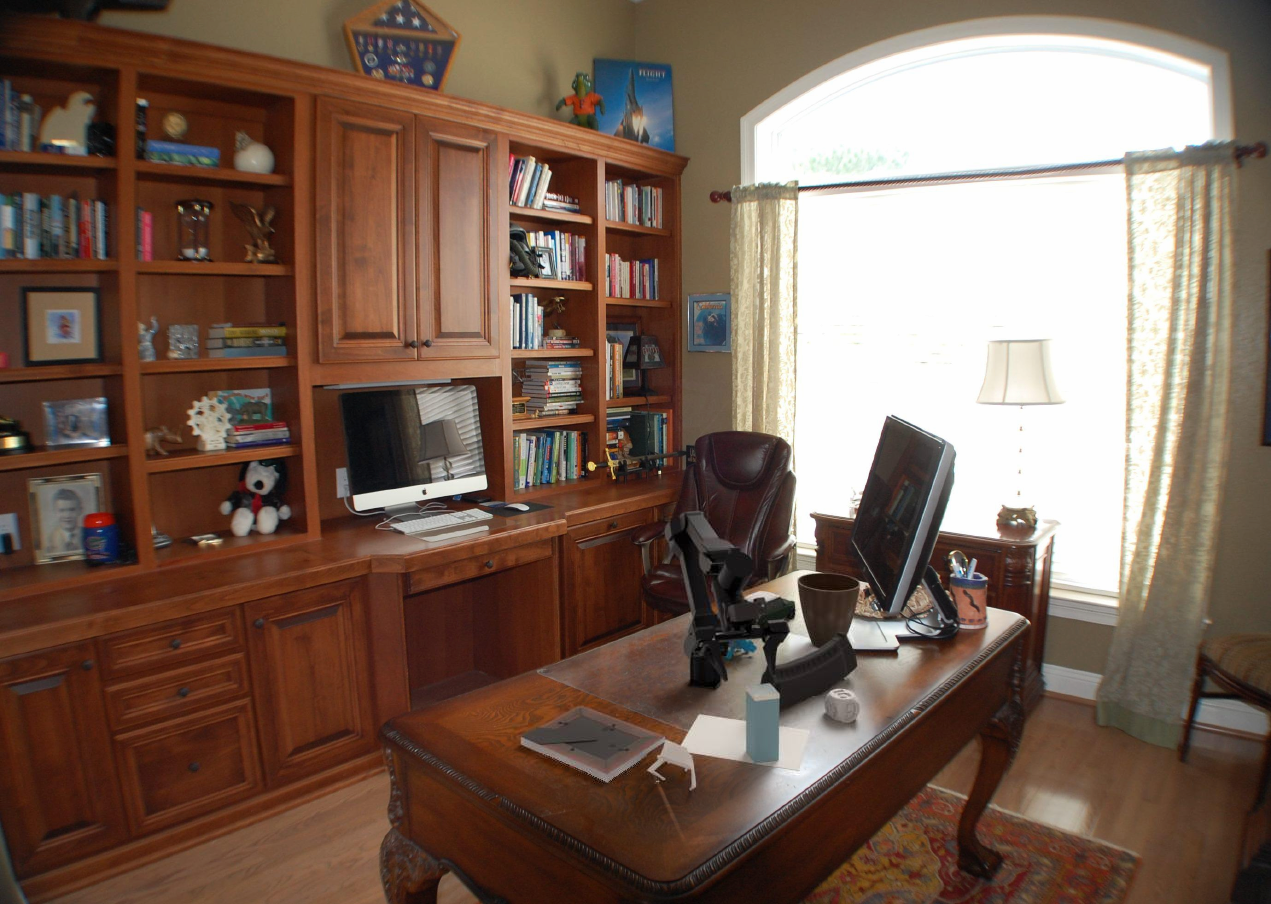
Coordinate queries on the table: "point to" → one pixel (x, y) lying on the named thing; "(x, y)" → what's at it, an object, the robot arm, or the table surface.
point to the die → (842, 705)
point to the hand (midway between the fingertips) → (750, 678)
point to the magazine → (812, 672)
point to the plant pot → (827, 604)
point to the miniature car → (773, 608)
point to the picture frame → (593, 742)
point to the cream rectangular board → (742, 741)
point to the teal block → (762, 723)
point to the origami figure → (674, 759)
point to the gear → (741, 647)
